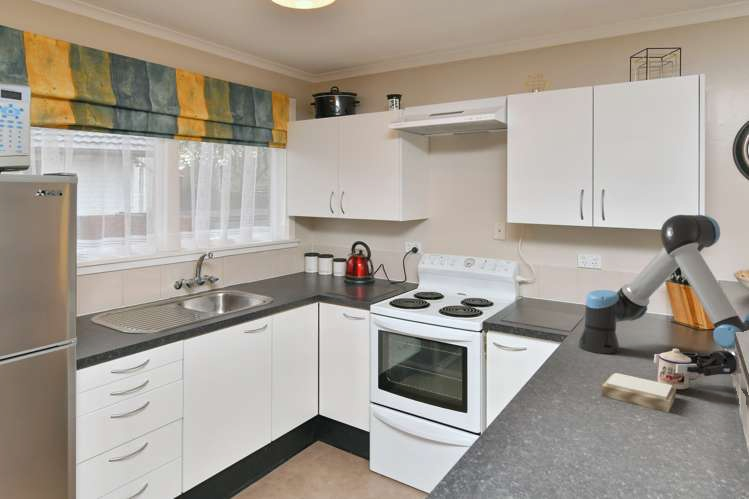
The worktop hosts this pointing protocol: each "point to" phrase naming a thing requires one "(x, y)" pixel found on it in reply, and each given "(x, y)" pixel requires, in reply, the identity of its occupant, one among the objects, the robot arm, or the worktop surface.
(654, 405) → the oak tea stand
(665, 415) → the worktop surface
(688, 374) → the teacup with lid
